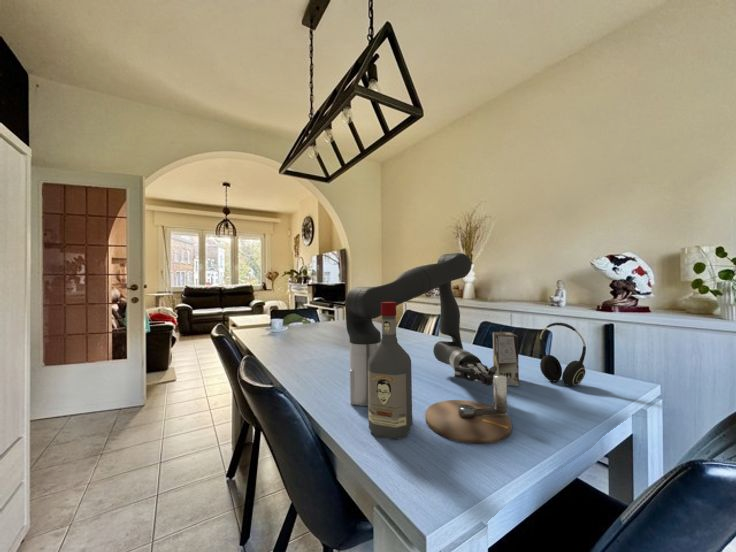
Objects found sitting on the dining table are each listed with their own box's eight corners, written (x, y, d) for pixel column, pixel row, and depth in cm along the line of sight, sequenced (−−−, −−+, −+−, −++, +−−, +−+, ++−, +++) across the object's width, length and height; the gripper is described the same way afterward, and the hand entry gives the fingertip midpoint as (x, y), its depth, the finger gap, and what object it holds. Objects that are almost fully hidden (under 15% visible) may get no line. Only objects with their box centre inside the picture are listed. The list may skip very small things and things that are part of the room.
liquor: (379, 418, 79) (376, 300, 79) (414, 423, 76) (411, 301, 76) (365, 435, 70) (363, 303, 71) (404, 442, 67) (402, 304, 67)
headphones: (548, 375, 111) (546, 319, 111) (594, 387, 97) (592, 324, 98) (532, 379, 106) (531, 321, 107) (579, 392, 93) (577, 326, 94)
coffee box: (519, 386, 100) (518, 336, 100) (498, 385, 101) (497, 335, 101) (512, 377, 109) (511, 331, 109) (493, 376, 110) (492, 331, 110)
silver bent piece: (461, 418, 74) (460, 380, 74) (456, 411, 78) (455, 375, 78) (510, 416, 74) (509, 378, 75) (502, 409, 78) (501, 373, 79)
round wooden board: (437, 446, 65) (437, 437, 65) (417, 406, 85) (417, 400, 85) (529, 441, 66) (529, 433, 66) (488, 404, 86) (488, 397, 86)
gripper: (443, 352, 97) (463, 368, 79) (485, 350, 97) (514, 366, 80) (444, 376, 97) (464, 397, 79) (485, 374, 97) (514, 395, 80)
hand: (489, 381), depth 80 cm, fingers closed
